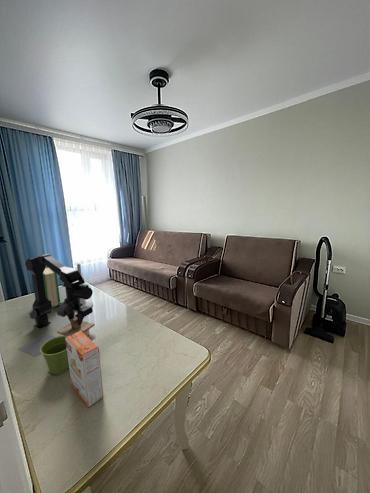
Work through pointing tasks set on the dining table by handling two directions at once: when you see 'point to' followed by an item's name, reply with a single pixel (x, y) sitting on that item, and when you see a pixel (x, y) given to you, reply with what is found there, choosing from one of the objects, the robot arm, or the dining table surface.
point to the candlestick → (84, 303)
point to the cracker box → (84, 367)
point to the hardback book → (51, 286)
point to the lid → (75, 327)
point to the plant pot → (55, 354)
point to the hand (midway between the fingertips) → (76, 324)
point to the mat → (35, 345)
